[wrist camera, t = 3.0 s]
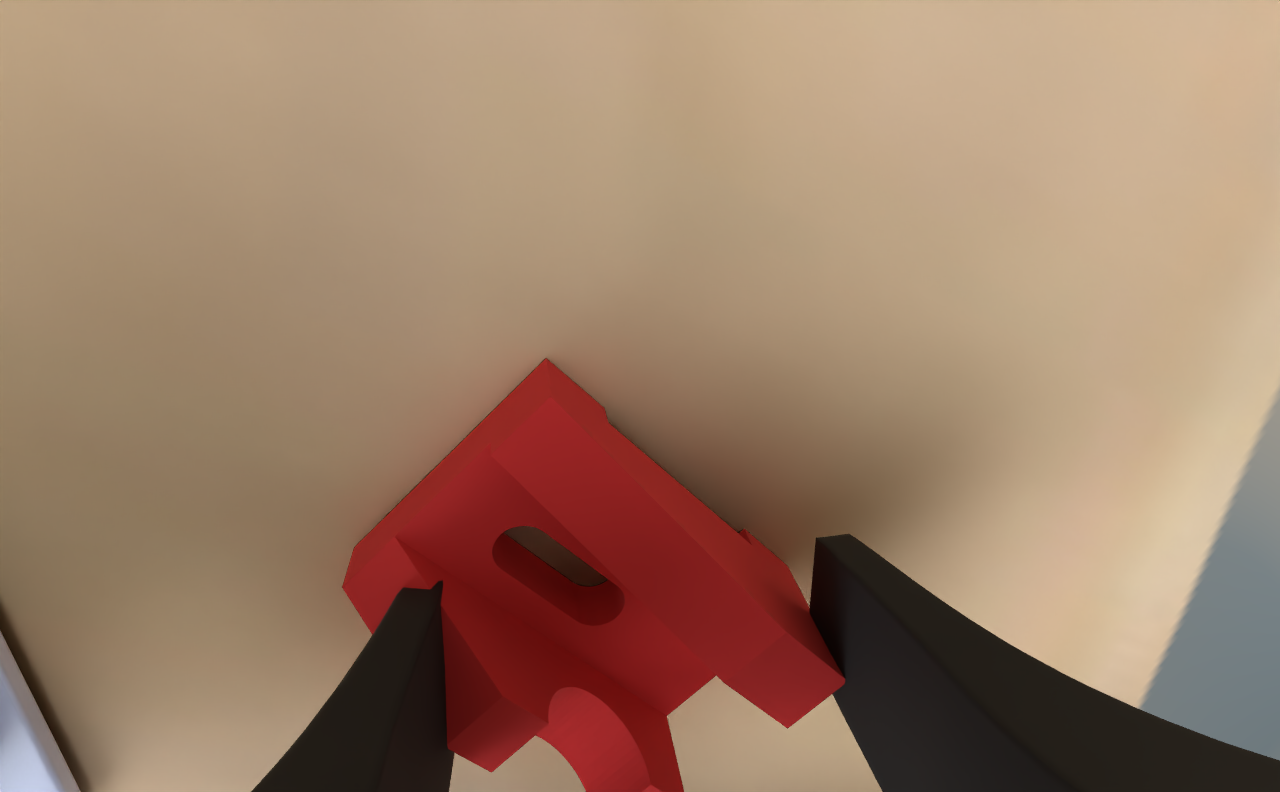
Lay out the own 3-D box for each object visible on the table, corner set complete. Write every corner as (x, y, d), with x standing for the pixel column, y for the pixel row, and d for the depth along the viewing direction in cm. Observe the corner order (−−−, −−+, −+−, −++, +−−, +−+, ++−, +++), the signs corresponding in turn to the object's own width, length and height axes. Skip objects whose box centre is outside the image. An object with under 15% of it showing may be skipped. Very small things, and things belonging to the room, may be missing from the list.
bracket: (786, 565, 15) (848, 681, 12) (612, 711, 16) (633, 849, 13) (545, 358, 12) (556, 448, 10) (354, 547, 13) (315, 676, 11)
